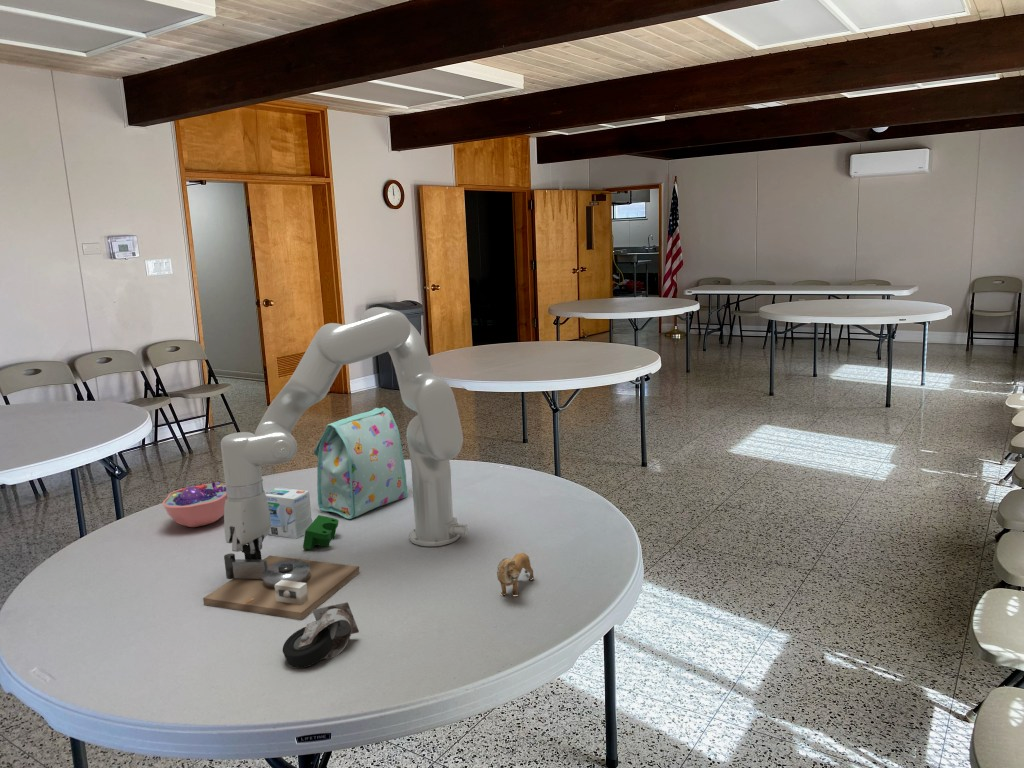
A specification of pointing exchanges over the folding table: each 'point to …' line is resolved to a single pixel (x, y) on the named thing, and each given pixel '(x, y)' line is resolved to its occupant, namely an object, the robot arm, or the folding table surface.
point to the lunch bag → (360, 464)
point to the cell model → (197, 504)
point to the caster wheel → (321, 636)
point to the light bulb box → (289, 512)
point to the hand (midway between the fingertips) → (254, 567)
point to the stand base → (284, 590)
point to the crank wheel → (266, 570)
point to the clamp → (320, 532)
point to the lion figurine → (513, 571)
